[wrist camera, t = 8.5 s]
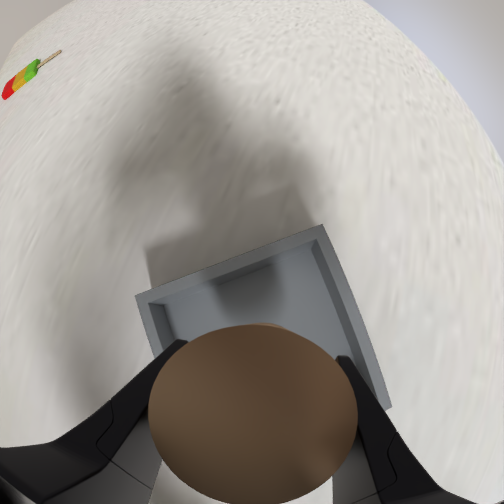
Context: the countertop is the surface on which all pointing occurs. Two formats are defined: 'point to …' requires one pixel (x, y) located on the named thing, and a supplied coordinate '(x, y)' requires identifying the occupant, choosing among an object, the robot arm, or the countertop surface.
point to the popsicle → (23, 77)
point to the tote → (269, 301)
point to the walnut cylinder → (252, 414)
